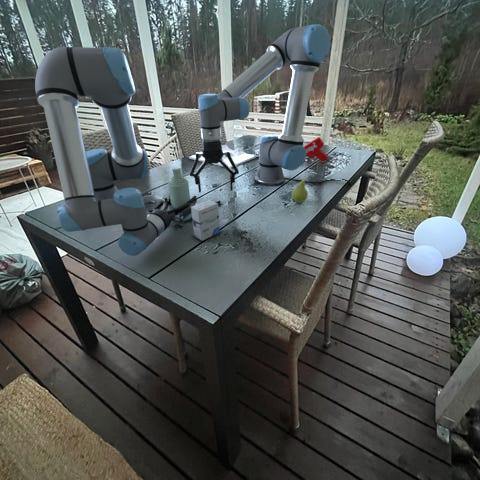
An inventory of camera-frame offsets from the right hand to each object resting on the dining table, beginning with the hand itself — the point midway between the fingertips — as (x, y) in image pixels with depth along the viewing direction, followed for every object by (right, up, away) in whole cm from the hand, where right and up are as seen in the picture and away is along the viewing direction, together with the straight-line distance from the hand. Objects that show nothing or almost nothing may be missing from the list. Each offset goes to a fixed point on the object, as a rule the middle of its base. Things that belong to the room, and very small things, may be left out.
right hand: (215, 190), depth 117 cm
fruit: (+37, -4, +5) cm, 38 cm away
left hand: (-11, -4, -6) cm, 13 cm away
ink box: (-1, -19, -18) cm, 27 cm away
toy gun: (+55, +28, +55) cm, 83 cm away
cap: (0, -4, +2) cm, 5 cm away
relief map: (-1, +33, +63) cm, 71 cm away
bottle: (-13, -12, -6) cm, 19 cm away
